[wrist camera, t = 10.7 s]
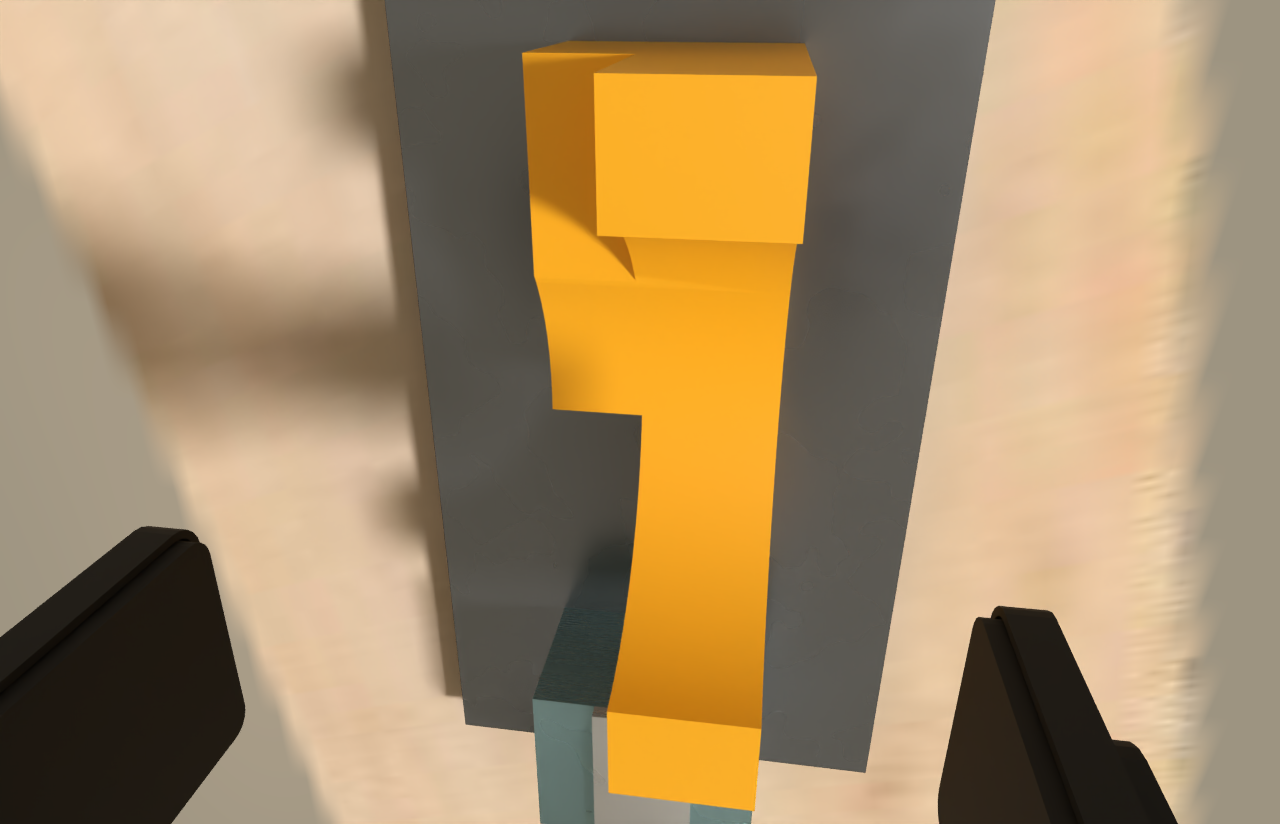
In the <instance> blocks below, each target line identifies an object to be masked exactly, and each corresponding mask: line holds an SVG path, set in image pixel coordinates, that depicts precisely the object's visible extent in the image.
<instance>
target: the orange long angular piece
mask: <svg viewBox="0 0 1280 824" xmlns="http://www.w3.org/2000/svg"><path fill="white" fill-rule="evenodd" d="M522 59H523V78H524V96H525V115H526V133H527V152H528V170H529V189H530V208H531V226H532V245H533V263H534V277H535V280H536V283H537V287H538V291H539V295H540V299H541V303H542V308H543V313H544V318H545V324H546V331H547V337H548V346H549V355H550V367H551V381H552V406H553V409H556V410H571V411H586V412H601V413H616V414H631V415H642V432H641V457H640V476H639V491H638V505H637V517H636V528H635V539H634V549H633V558H632V567H631V575H630V584H629V591H628V599H627V606H626V613H625V620H624V626H623V632H622V638H621V645H620V650H619V656H618V661H617V667H616V672H615V677H614V682H613V687H612V692H611V696H610V700H609V705H608V709H607V743H608V792H609V793H613V794H621V795H629V796H637V797H645V798H653V799H661V800H669V801H677V802H685V803H693V804H701V805H709V806H717V807H725V808H733V809H741V810H749V811H754V810H755V799H756V787H757V775H758V764H759V752H760V740H761V727H762V698H763V673H764V650H765V629H766V609H767V590H768V572H769V555H770V539H771V523H772V507H773V492H774V477H775V463H776V449H777V435H778V422H779V409H780V397H781V385H782V373H783V361H784V350H785V339H786V328H787V318H788V309H789V299H790V290H791V281H792V273H793V266H794V259H795V252H796V246H797V244H803V235H804V223H805V212H806V200H807V188H808V177H809V165H810V153H811V141H812V130H813V118H814V106H815V94H816V83H817V75H816V72H815V70H814V67H813V64H812V62H811V59H810V56H809V53H808V51H807V48H806V45H805V43H727V42H628V41H566V42H562V43H558V44H554V45H550V46H546V47H542V48H538V49H534V50H531V51H527V52H523V53H522Z"/></svg>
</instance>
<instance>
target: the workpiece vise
mask: <svg viewBox="0 0 1280 824" xmlns="http://www.w3.org/2000/svg"><path fill="white" fill-rule="evenodd" d="M994 5H995V0H385V7H386V16H387V25H388V34H389V43H390V52H391V61H392V70H393V78H394V87H395V96H396V105H397V114H398V123H399V132H400V141H401V150H402V159H403V168H404V177H405V186H406V195H407V204H408V213H409V222H410V231H411V240H412V249H413V257H414V266H415V275H416V284H417V293H418V302H419V311H420V320H421V329H422V338H423V347H424V356H425V365H426V374H427V383H428V392H429V401H430V410H431V419H432V428H433V437H434V445H435V454H436V463H437V472H438V481H439V490H440V499H441V508H442V517H443V526H444V535H445V544H446V553H447V562H448V571H449V580H450V589H451V598H452V607H453V616H454V624H455V633H456V642H457V651H458V660H459V669H460V678H461V687H462V696H463V705H464V714H465V723H466V725H475V726H483V727H491V728H499V729H508V730H516V731H524V732H533V733H535V747H536V762H537V778H538V793H539V808H540V823H541V824H751V817H752V811H749V810H741V809H733V808H725V807H717V806H709V805H701V804H693V803H685V802H677V801H669V800H661V799H653V798H645V797H637V796H629V795H621V794H613V793H609V792H608V743H607V709H608V705H609V700H610V696H611V692H612V687H613V682H614V677H615V672H616V667H617V661H618V656H619V650H620V645H621V638H622V632H623V626H624V620H625V613H626V606H627V599H628V591H629V584H630V575H631V567H632V558H633V549H634V539H635V528H636V517H637V505H638V491H639V476H640V457H641V432H642V415H631V414H616V413H601V412H586V411H571V410H556V409H553V406H552V381H551V367H550V355H549V346H548V337H547V331H546V324H545V318H544V313H543V308H542V303H541V299H540V295H539V291H538V287H537V283H536V280H535V277H534V263H533V245H532V226H531V208H530V189H529V170H528V152H527V133H526V115H525V96H524V78H523V59H522V53H523V52H527V51H531V50H534V49H538V48H542V47H546V46H550V45H554V44H558V43H562V42H566V41H628V42H727V43H805V45H806V48H807V51H808V53H809V56H810V59H811V62H812V64H813V67H814V70H815V72H816V75H817V83H816V94H815V106H814V118H813V130H812V141H811V153H810V165H809V177H808V188H807V200H806V212H805V223H804V235H803V244H797V246H796V252H795V259H794V266H793V273H792V281H791V290H790V299H789V309H788V318H787V328H786V339H785V350H784V361H783V373H782V385H781V397H780V409H779V422H778V435H777V449H776V463H775V477H774V492H773V507H772V523H771V539H770V555H769V572H768V590H767V609H766V629H765V650H764V673H763V698H762V727H761V740H760V752H759V760H764V761H772V762H781V763H789V764H797V765H805V766H814V767H822V768H830V769H838V770H847V771H855V772H863V773H866V767H867V761H868V755H869V749H870V743H871V737H872V731H873V725H874V719H875V713H876V707H877V701H878V695H879V689H880V683H881V677H882V672H883V666H884V660H885V654H886V648H887V642H888V636H889V630H890V624H891V618H892V612H893V606H894V600H895V594H896V588H897V582H898V576H899V570H900V565H901V559H902V553H903V547H904V541H905V535H906V529H907V523H908V517H909V511H910V505H911V499H912V493H913V487H914V481H915V475H916V469H917V463H918V457H919V452H920V446H921V440H922V434H923V428H924V422H925V416H926V410H927V404H928V398H929V392H930V386H931V380H932V374H933V368H934V362H935V356H936V350H937V344H938V339H939V333H940V327H941V321H942V315H943V309H944V303H945V297H946V291H947V285H948V279H949V273H950V267H951V261H952V255H953V249H954V243H955V237H956V231H957V226H958V220H959V214H960V208H961V202H962V196H963V190H964V184H965V178H966V172H967V166H968V160H969V154H970V148H971V142H972V136H973V130H974V124H975V118H976V113H977V107H978V101H979V95H980V89H981V83H982V77H983V71H984V65H985V59H986V53H987V47H988V41H989V35H990V29H991V23H992V17H993V11H994Z"/></svg>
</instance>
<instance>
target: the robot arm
mask: <svg viewBox="0 0 1280 824" xmlns="http://www.w3.org/2000/svg"><path fill="white" fill-rule="evenodd" d="M244 717H245V703H244V699H243V694H242V690H241V686H240V681H239V677H238V673H237V669H236V665H235V660H234V655H233V651H232V647H231V642H230V638H229V634H228V629H227V625H226V621H225V616H224V612H223V608H222V603H221V599H220V595H219V590H218V586H217V582H216V577H215V573H214V568H213V564H212V560H211V555H210V552H209V550H208V548H207V547H206V545H205V544H202V543H200V542H199V540H198V537H197V536H196V535H195V534H194V533H193V532H191V531H189V530H184V529H173V528H162V527H152V526H146V527H141V528H139V529H137V530H135V531H134V532H132V533H131V534H130V535H129V536H127V537H126V538H125V539H124V540H122V541H121V542H120V543H118V544H117V545H116V546H115V547H113V548H112V549H111V550H110V551H108V552H107V553H106V554H105V555H103V556H102V557H101V558H100V559H98V560H97V561H96V562H95V563H93V564H92V565H91V566H90V567H88V568H87V569H86V570H84V571H83V572H82V573H81V574H79V575H78V576H77V577H76V578H74V579H73V580H72V581H71V582H69V583H68V584H67V585H66V586H64V587H63V588H62V589H61V590H59V591H58V592H57V593H55V594H54V595H53V596H52V597H50V598H49V599H48V600H47V601H46V602H44V603H43V604H42V605H40V606H39V607H38V608H37V609H35V610H34V611H33V612H32V613H30V614H29V615H28V616H26V617H25V618H24V619H23V620H21V621H20V622H19V623H18V624H17V625H15V626H14V627H13V628H11V629H10V630H9V631H8V632H6V633H5V634H4V635H3V636H1V637H0V824H171V823H172V822H173V821H174V819H175V818H176V817H177V815H178V814H179V813H180V811H181V810H182V808H183V807H184V806H185V805H186V803H187V802H188V800H189V799H190V798H191V797H192V795H193V794H194V793H195V791H196V790H197V789H198V787H199V786H200V785H201V784H202V782H203V781H204V780H205V778H206V777H207V776H208V774H209V773H210V772H211V770H212V769H213V768H214V766H215V765H216V764H217V762H218V761H219V759H220V758H221V757H222V756H223V754H224V753H225V751H226V750H227V749H228V748H229V746H230V745H231V744H232V743H233V741H234V740H235V738H236V737H237V735H238V734H239V732H240V730H241V728H242V725H243V722H244ZM938 817H939V824H1178V823H1177V821H1176V819H1175V817H1174V815H1173V813H1172V811H1171V809H1170V807H1169V805H1168V803H1167V801H1166V799H1165V797H1164V795H1163V793H1162V791H1161V789H1160V787H1159V784H1158V782H1157V780H1156V778H1155V776H1154V774H1153V772H1152V770H1151V768H1150V766H1149V764H1148V762H1147V760H1146V759H1145V757H1144V756H1143V754H1142V753H1141V751H1140V749H1139V748H1138V747H1137V746H1135V745H1134V744H1133V743H1131V742H1128V741H1119V740H1112V739H1111V737H1110V734H1109V732H1108V730H1107V728H1106V726H1105V724H1104V721H1103V719H1102V717H1101V715H1100V713H1099V711H1098V708H1097V706H1096V704H1095V702H1094V700H1093V697H1092V695H1091V693H1090V691H1089V689H1088V687H1087V684H1086V682H1085V680H1084V678H1083V676H1082V674H1081V671H1080V669H1079V667H1078V665H1077V663H1076V661H1075V658H1074V656H1073V654H1072V652H1071V650H1070V648H1069V645H1068V643H1067V641H1066V639H1065V637H1064V634H1063V632H1062V630H1061V628H1060V626H1059V624H1058V621H1057V619H1056V618H1055V616H1054V614H1053V613H1052V612H1050V611H1047V610H1037V609H1026V608H1015V607H1005V606H997V607H996V608H995V609H994V611H993V612H992V615H991V618H983V617H978V618H976V620H975V622H974V625H973V629H972V634H971V639H970V643H969V648H968V653H967V658H966V662H965V667H964V672H963V677H962V682H961V686H960V691H959V696H958V701H957V706H956V710H955V715H954V720H953V725H952V730H951V734H950V739H949V744H948V749H947V754H946V758H945V763H944V768H943V773H942V778H941V782H940V787H939V794H938Z"/></svg>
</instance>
